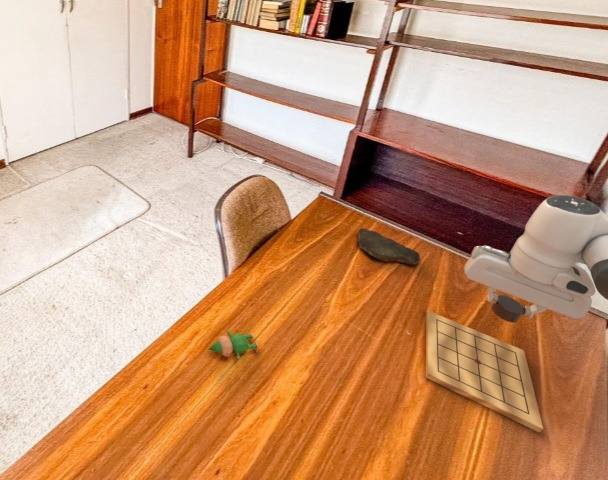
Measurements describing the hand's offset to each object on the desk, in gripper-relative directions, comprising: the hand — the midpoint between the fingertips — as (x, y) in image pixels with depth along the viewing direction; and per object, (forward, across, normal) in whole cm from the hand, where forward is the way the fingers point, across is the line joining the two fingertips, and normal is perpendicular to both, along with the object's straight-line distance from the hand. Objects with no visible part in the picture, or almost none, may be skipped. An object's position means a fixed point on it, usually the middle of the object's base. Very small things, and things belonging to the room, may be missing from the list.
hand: (508, 307), depth 90 cm
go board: (+15, -2, -5) cm, 16 cm away
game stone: (+2, 0, 0) cm, 2 cm away
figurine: (+16, -51, -35) cm, 64 cm away
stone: (+16, -23, +23) cm, 36 cm away
